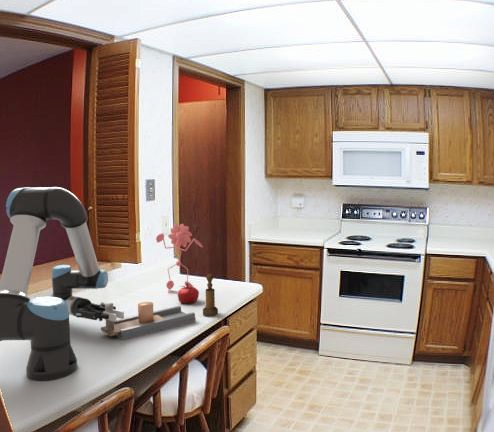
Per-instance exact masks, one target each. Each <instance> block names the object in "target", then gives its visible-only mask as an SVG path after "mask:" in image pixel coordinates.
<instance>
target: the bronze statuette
mask: <svg viewBox="0 0 494 432" xmlns="http://www.w3.org/2000/svg"><path fill="white" fill-rule="evenodd" d="M205 277H206V280H207V284H206V285H207V288H206V289H205V307H203V309H202V316H204V317H206V318H207V317H209V318H210V317H216V316H218V315H219V308H218V307H216V304H215V302H216V300H215V288H213V283H212V281H213V279H214V275H213V274H212V273H208V274H206V276H205Z"/></svg>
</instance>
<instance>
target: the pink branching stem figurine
mask: <svg viewBox="0 0 494 432" xmlns="http://www.w3.org/2000/svg"><path fill="white" fill-rule="evenodd" d="M172 227H173V228H170V233H169V234H168V235H167V237H168V238H169V239H170V240H171V241H170V242H171V244H172V245H175V246H169V247H167V246H166V243H165V235H164V233H163V232H162V233H159V234H157V236H156V238H155V240H156V243H160V242H162V241H163V245H164V248H165V249H166V250H167V249H177V250H178V251H179V252H180V253H179V257H178V260H177V261H176V262H175V264H174V265H172V266H170V267H168V269H167V273H168V277H169V279H168V281H167V282H166V289H168V294H170V291H171V289H173V288H174V286H175V283H174V281H173V280H171V275H170V271H169V270H170V269H172V268H173V267H175V266H177V267H181V266H182V267H184V268H185V269H186V270H187V277H186V281H184V286H186V287H187V285H186V283H188V287H190V286H191V287H193V288H194V286H192V285H193V284H192V283H191V282H189V268H187V267H186V265H184V264H182V262H181V256H182V251H183V252H187V250H189V247H190V246H191V245H192V244H193V242H194V243H195V244H196V245H197V246H199V247H200V248H202V249H204V248H203V244H202V243H201V242H200V241H199V240H198V239H196V238H195V237H194V238H193V239H191V237H192V236H193V234H192V232H191V231H189V230H190V227H189V226H187V225H185V224H184V223H181V224H180V225H178V223H175V224H173V226H172ZM181 246H182V247H184V248H185V249H183V248H181Z"/></svg>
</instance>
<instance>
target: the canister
mask: <svg viewBox="0 0 494 432" xmlns="http://www.w3.org/2000/svg"><path fill="white" fill-rule="evenodd" d="M153 312H154V302H151V301H142V302H139V303H137V313H138V314H137V315H138V321H139V323H150V322H153V321H154V315H153Z"/></svg>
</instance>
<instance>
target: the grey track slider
mask: <svg viewBox="0 0 494 432" xmlns="http://www.w3.org/2000/svg"><path fill="white" fill-rule="evenodd" d="M113 306H114V303H113V302H107V303H105V312H109V313H113ZM113 314H114V313H113ZM163 319H164V318H162V317H161V316H159V315H157V314H156V315H154V321H153V322H155V321H159V320H163ZM142 324H146V323H139V321H138V319H135V320H130V321H126V322H122V323H117V324H114V321H110V320H106V319H105V326H104V325H103V326H101V327H100V330H101V332H103V333H104V334H106V335H107V336H109V337H113V336H116V335H117V334H120V330H121V329H125V328H129V327H134V326H138V325H142Z"/></svg>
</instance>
